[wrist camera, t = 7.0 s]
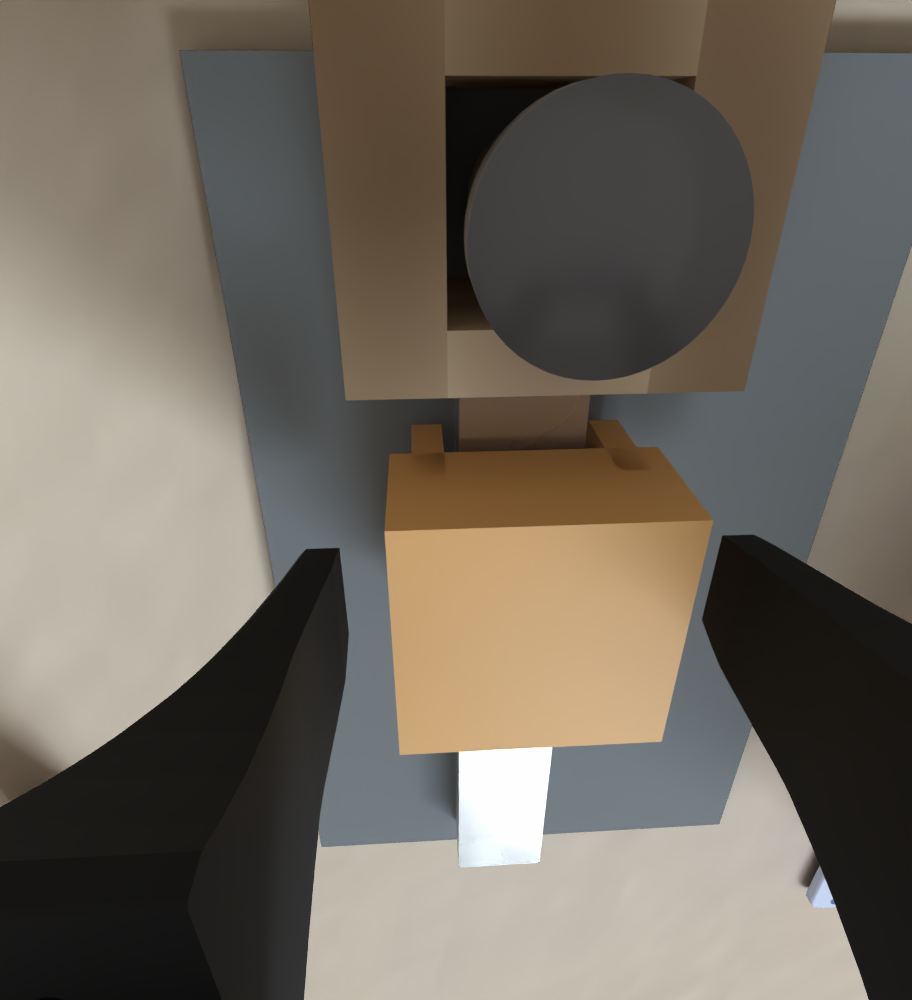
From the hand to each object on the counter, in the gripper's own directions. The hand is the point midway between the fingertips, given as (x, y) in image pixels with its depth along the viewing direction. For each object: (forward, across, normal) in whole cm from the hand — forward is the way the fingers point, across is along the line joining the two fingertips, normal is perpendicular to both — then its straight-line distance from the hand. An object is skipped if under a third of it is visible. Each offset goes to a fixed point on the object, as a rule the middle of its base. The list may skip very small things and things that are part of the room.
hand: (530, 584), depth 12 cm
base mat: (+3, -1, +2) cm, 4 cm away
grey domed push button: (+1, 0, -7) cm, 7 cm away
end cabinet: (+3, 0, -7) cm, 7 cm away
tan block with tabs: (+3, 0, 0) cm, 3 cm away
